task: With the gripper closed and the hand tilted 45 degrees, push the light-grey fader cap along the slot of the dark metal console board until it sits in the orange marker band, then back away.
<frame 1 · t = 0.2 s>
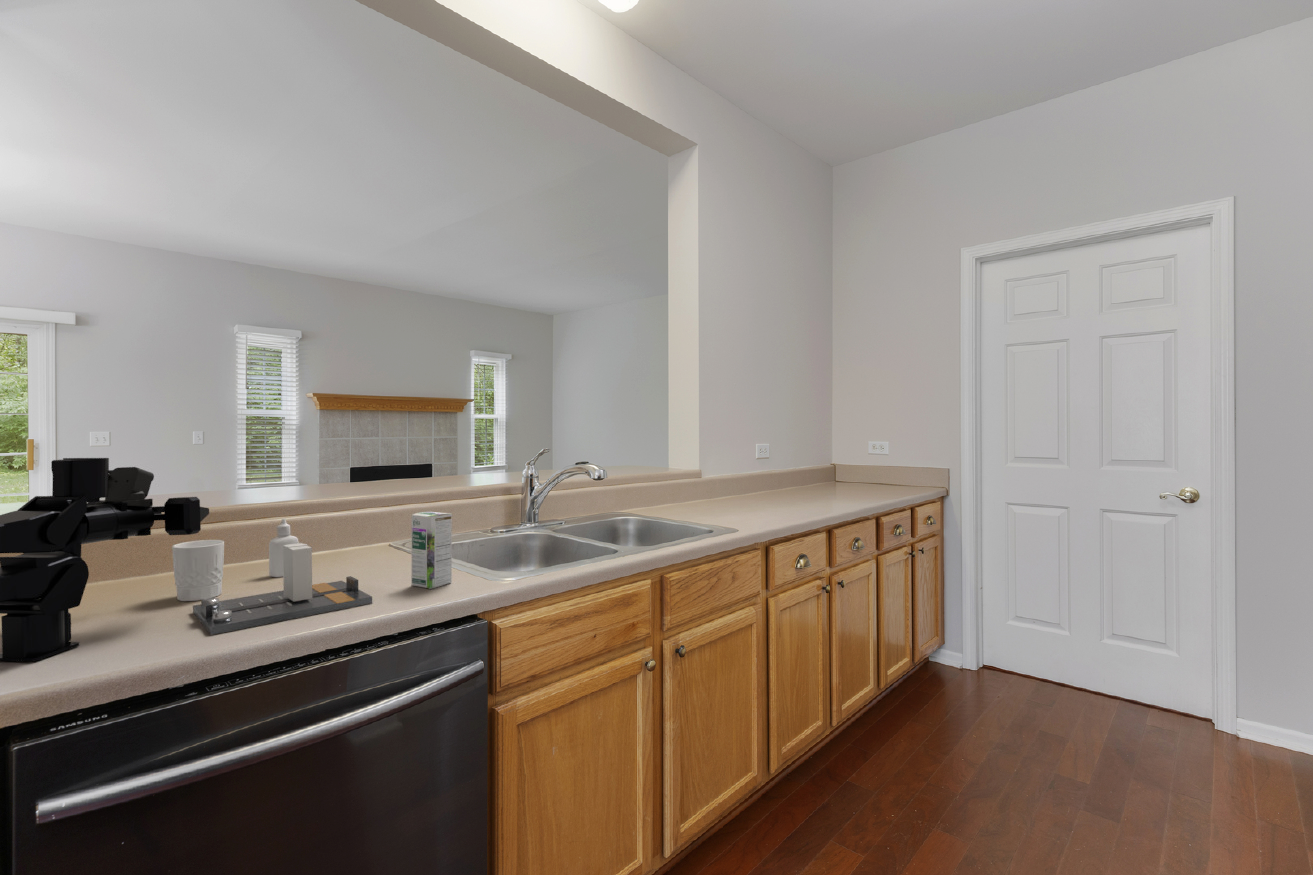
hand: (184, 511, 112), 16 cm above the worktop, tool horizontal, fingers open, 9 cm apart
fader: (297, 570, 110), point 6 cm above the worktop, slide at 0.0 cm
white cup: (199, 597, 116), on the worktop
eye dropper bottle: (284, 575, 133), on the worktop
console board: (284, 607, 109), on the worktop
syrup box: (431, 585, 125), on the worktop
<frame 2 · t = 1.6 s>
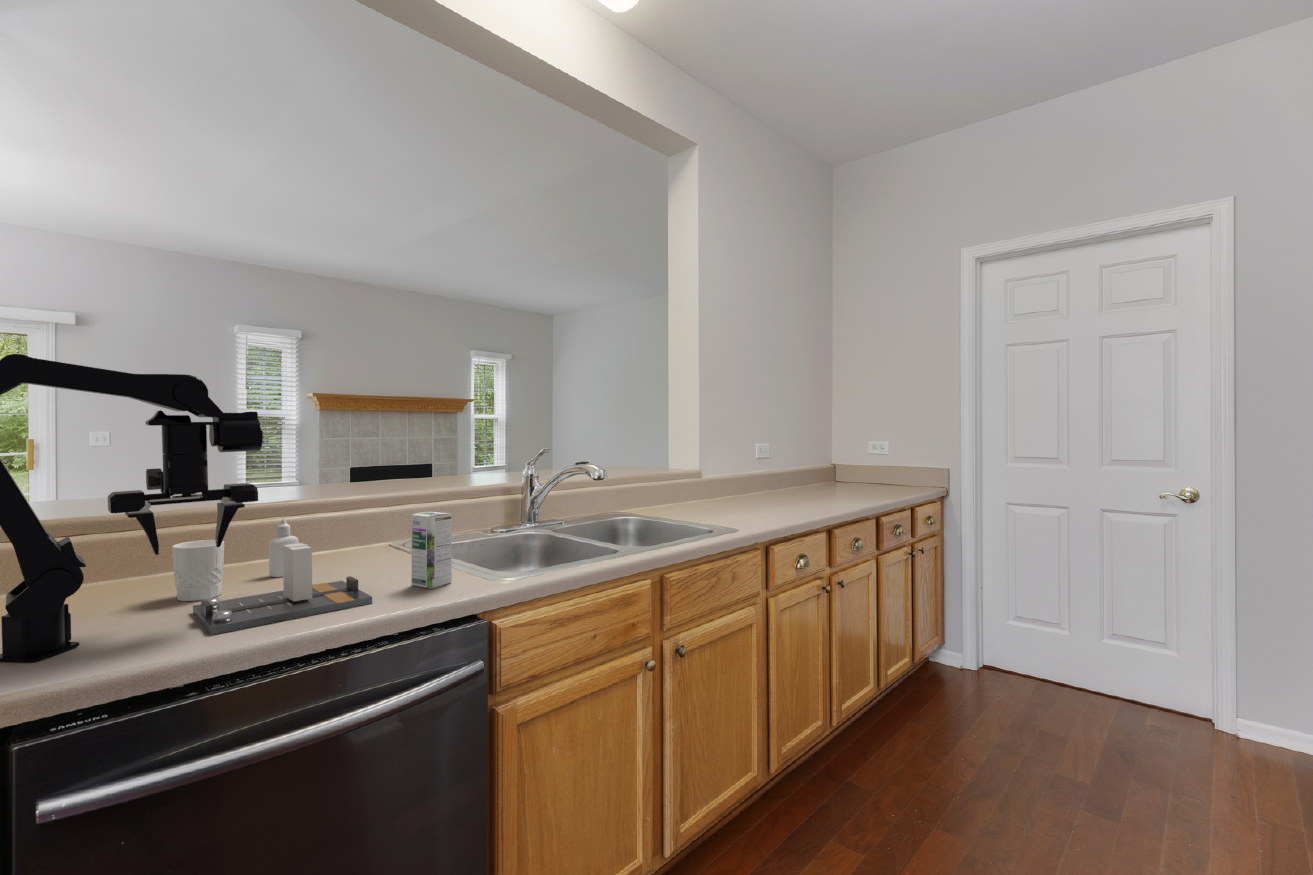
hand: (188, 550, 99), 12 cm above the worktop, tool pointing down, fingers open, 8 cm apart
nothing on the worktop moved.
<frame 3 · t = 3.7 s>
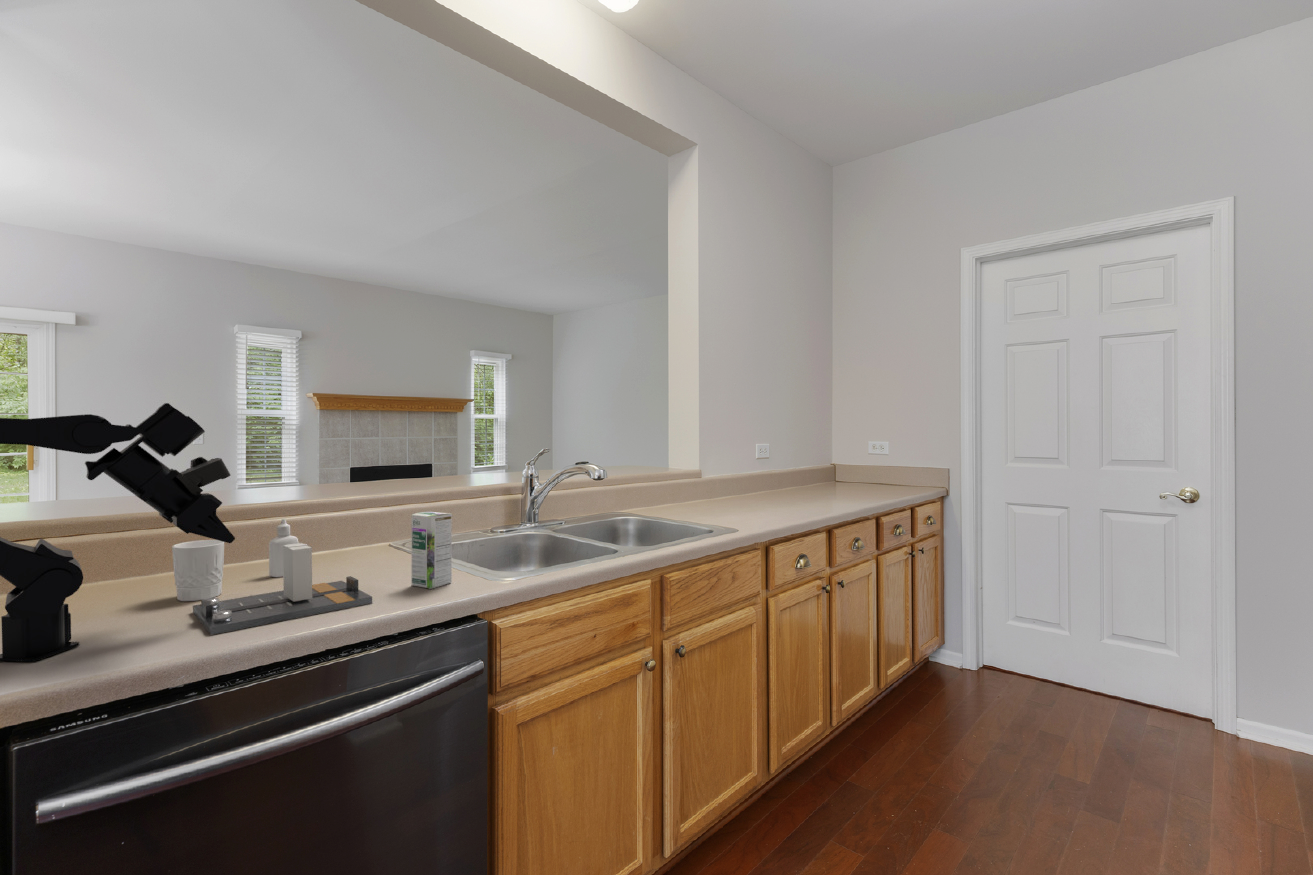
hand: (232, 540, 104), 13 cm above the worktop, tool tilted 45°, fingers closed
nothing on the worktop moved.
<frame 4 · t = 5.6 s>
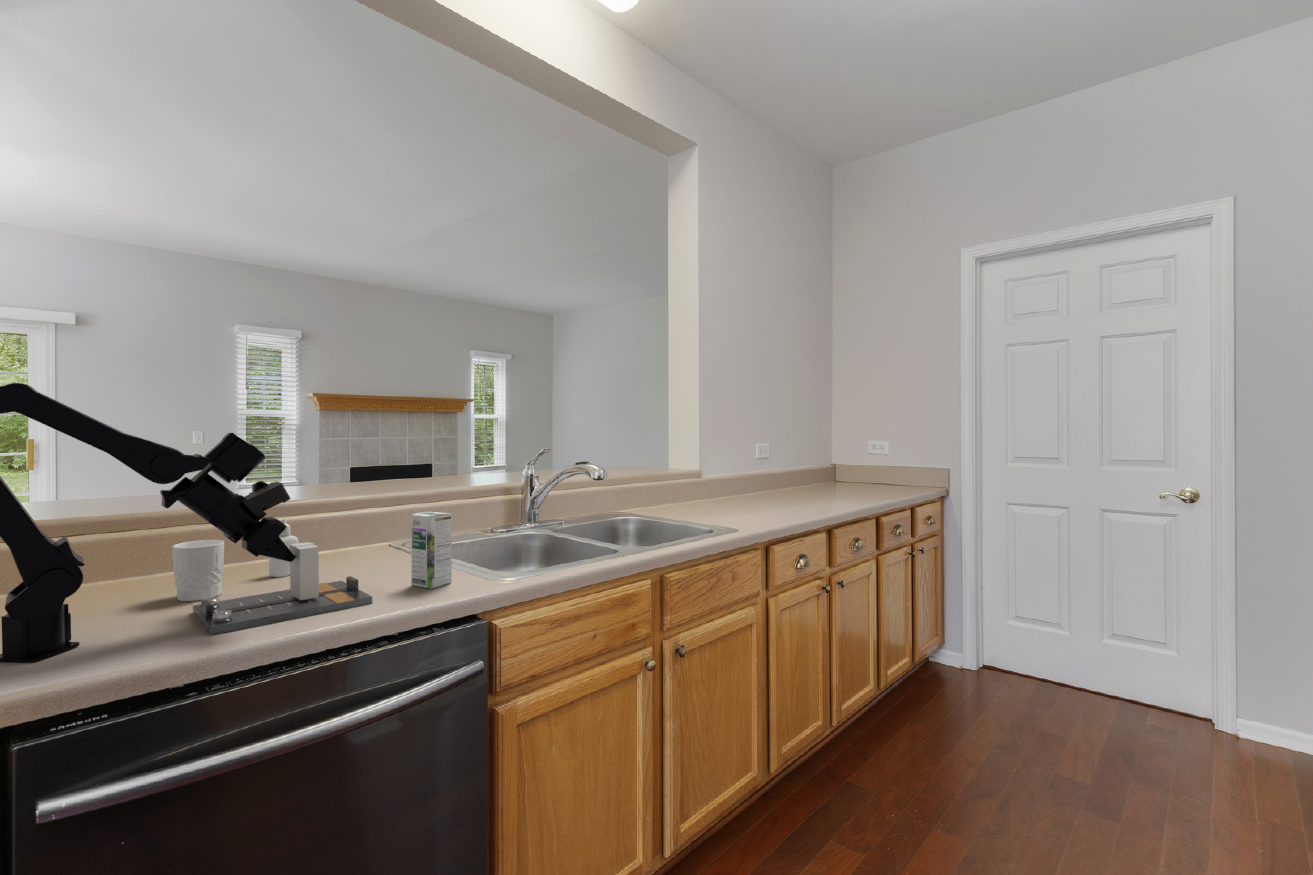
hand: (293, 559, 110), 8 cm above the worktop, tool tilted 45°, fingers closed, pressing on fader
fader: (304, 569, 111), point 6 cm above the worktop, slide at 1.1 cm, touching gripper
everything else where it was.
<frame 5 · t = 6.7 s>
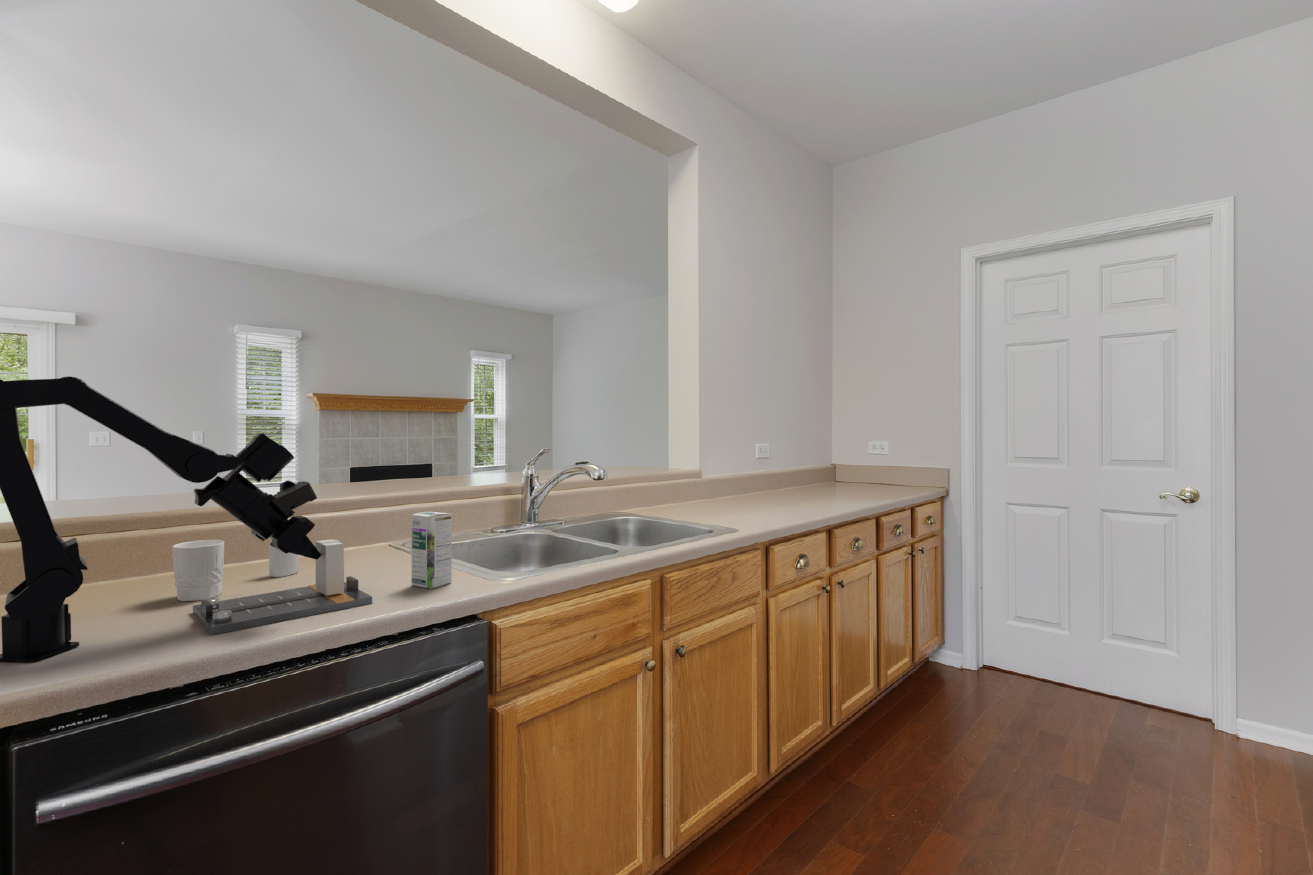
hand: (318, 557, 113), 8 cm above the worktop, tool tilted 45°, fingers closed, pressing on fader
fader: (329, 566, 114), point 6 cm above the worktop, slide at 5.3 cm, touching gripper
everything else where it was.
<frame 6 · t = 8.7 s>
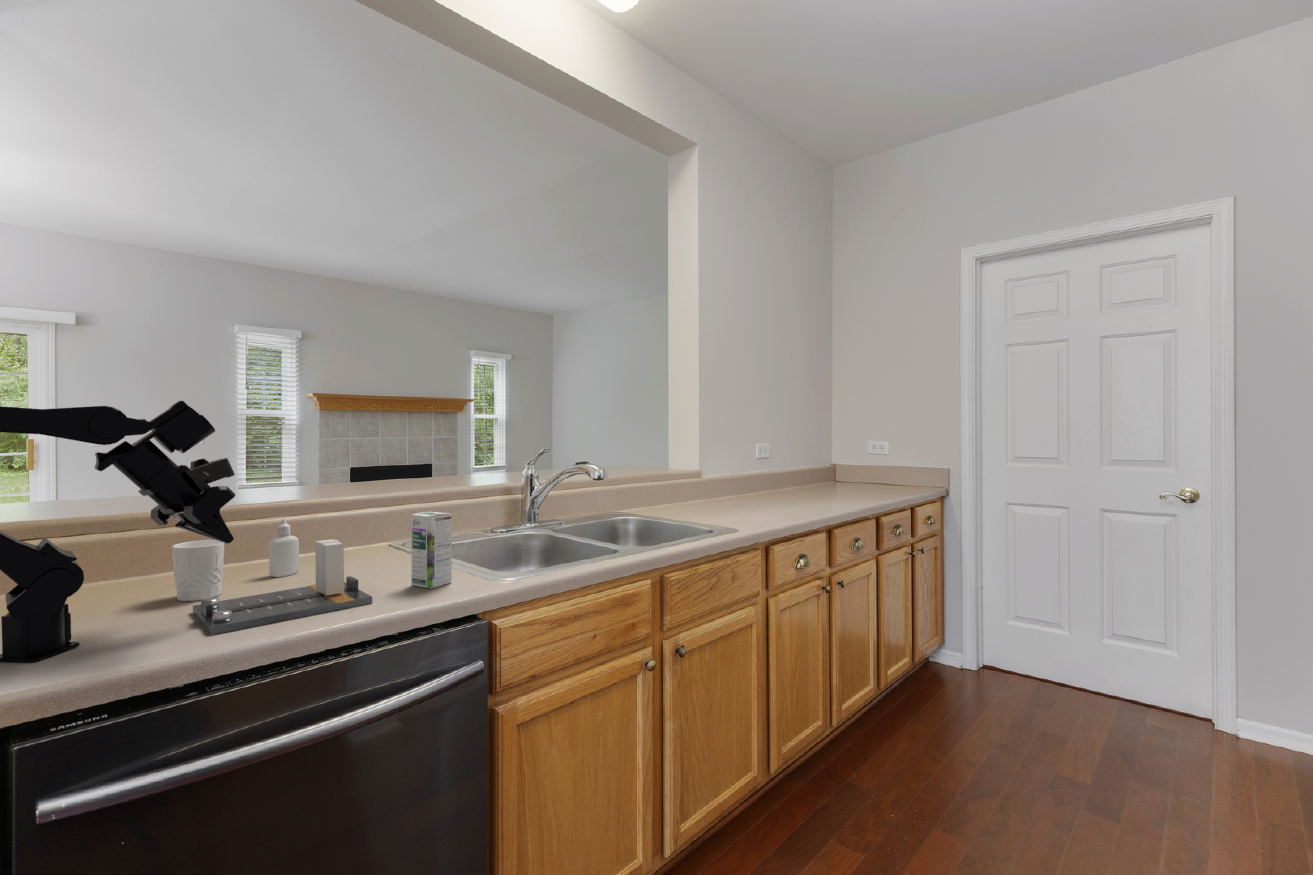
hand: (230, 541, 104), 13 cm above the worktop, tool tilted 40°, fingers closed
fader: (329, 566, 114), point 6 cm above the worktop, slide at 5.3 cm
everything else where it was.
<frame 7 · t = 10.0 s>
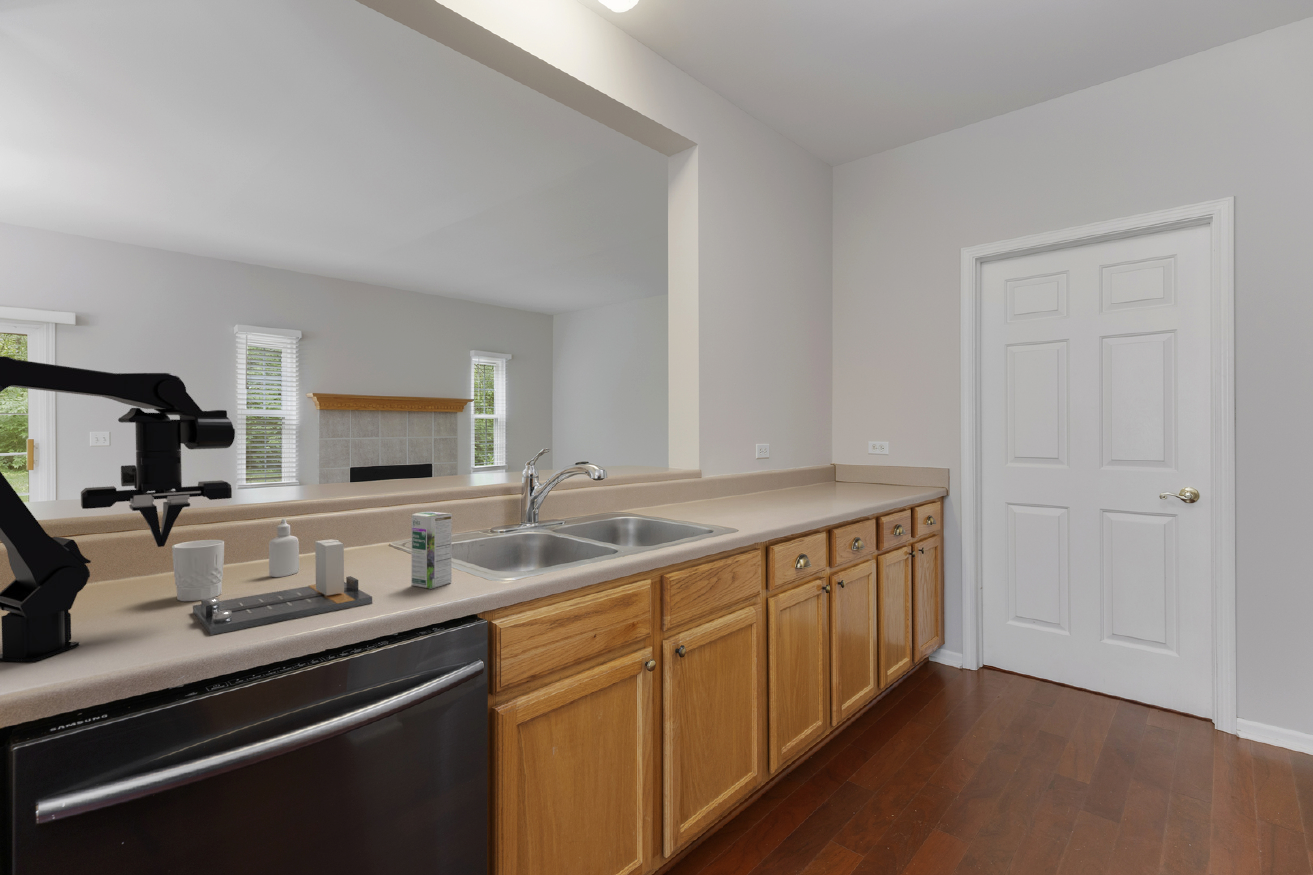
hand: (160, 546, 101), 12 cm above the worktop, tool pointing down, fingers closed
nothing on the worktop moved.
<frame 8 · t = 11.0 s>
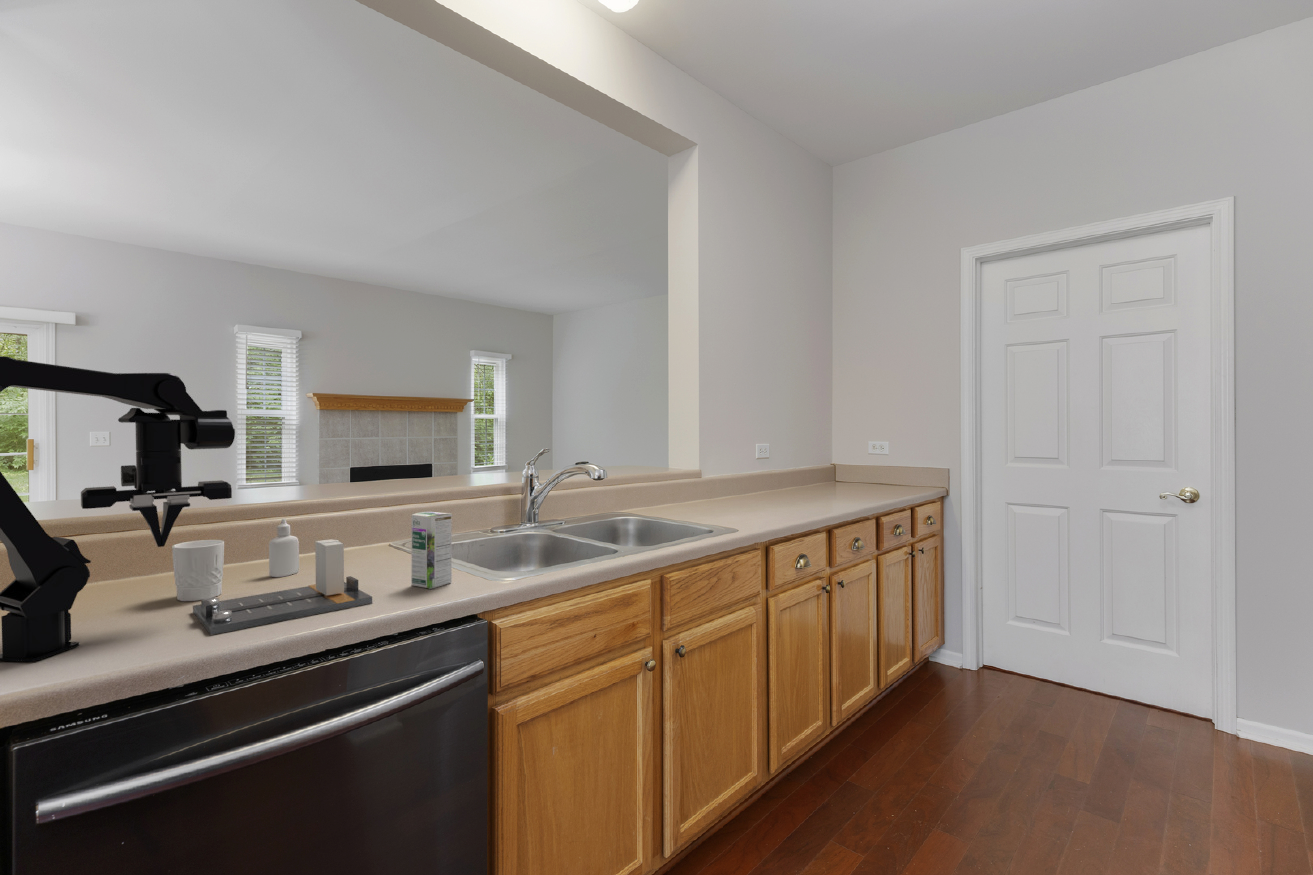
hand: (160, 546, 101), 12 cm above the worktop, tool pointing down, fingers closed
nothing on the worktop moved.
at the end: fader slide at 5.3 cm; the gripper is holding nothing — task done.
